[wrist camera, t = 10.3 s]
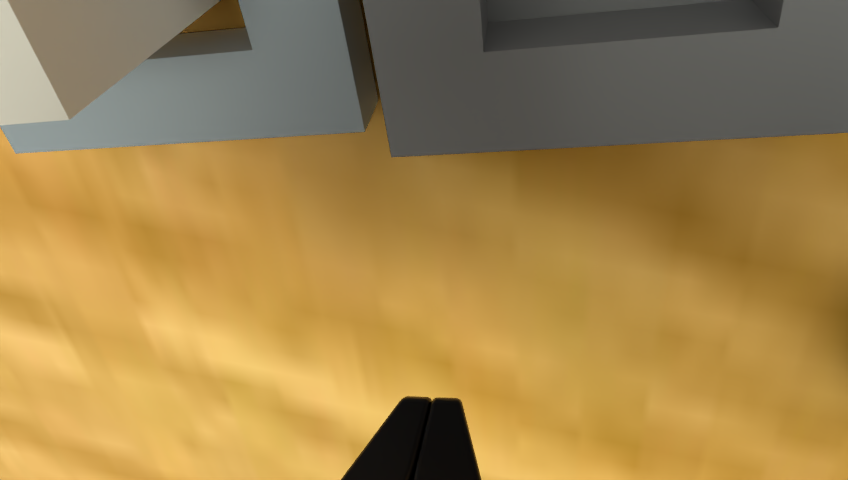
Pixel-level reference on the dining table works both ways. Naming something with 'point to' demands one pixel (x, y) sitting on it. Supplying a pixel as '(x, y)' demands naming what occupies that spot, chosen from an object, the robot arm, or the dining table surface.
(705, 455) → the dining table surface
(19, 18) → the plug
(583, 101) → the raised dock
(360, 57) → the low dock
